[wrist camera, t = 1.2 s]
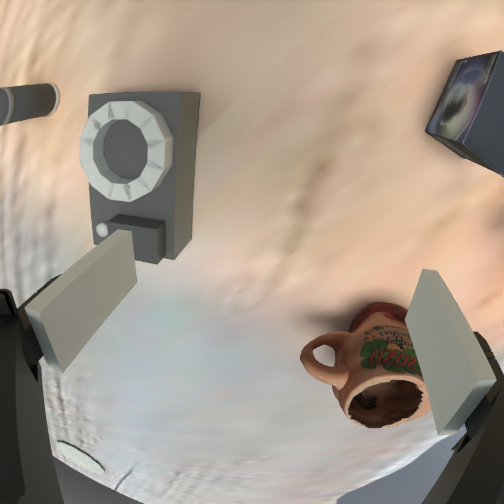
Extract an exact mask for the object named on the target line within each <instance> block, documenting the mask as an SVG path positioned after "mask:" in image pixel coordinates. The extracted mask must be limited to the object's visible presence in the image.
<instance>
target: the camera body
mask: <svg viewBox="0 0 504 504" xmlns="http://www.w3.org/2000/svg"><path fill="white" fill-rule="evenodd" d="M199 103H200V93H189V92H125V93H105V94H91V95H89V107H88V121H87V123H86V125H85V128H84V130H83V132H82V134H81V137H80V163H81V166H82V168H83V170H84V172H85V174H86V176H87V178H88V180H89V192H90V207H91V219H92V230H93V239H94V244H95V245H98V244H100V243H101V242H102V241H103V240H105V239H106V238H107V237H109V236H110V235H111V234H112V233H114V232H115V231H116V230H118V229H120V230H128V231H132V240H133V250H134V259H135V260H137V261H142V262H147V263H152V264H158V263H159V262H160V261H161V260H162V259H163V258H166V259H171V260H175V259H176V257H177V256H178V255H179V254H180V252H181V251H182V250H183V249H184V247H185V246H186V245H187V244H188V243H189V241H190V240H191V239H192V214H193V191H194V172H195V156H196V141H197V127H198V115H199Z"/></svg>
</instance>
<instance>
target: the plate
mask: <svg viewBox="0 0 504 504" xmlns="http://www.w3.org/2000/svg"><path fill="white" fill-rule="evenodd" d="M56 447H57V448H58V449H59V450H60V451H61V453H62V454H63V455H65V456H66V457H67V458H68V459H70V460H71V461H72V462H74V463H75V464H77V465H79V466H80V467H82V468H84V469H86V470H88V471H91V472H93V473H96V474H103V473H104V470H103V469H102V468H101V466H100V465H99V464H98V463H97V462H96V461H95V460H94V459H93V458H91V457H90V456H89V455H87V454H86V453H84V452H83V451H81V450H79V449H77V448H76V447H74V446H71V445H69V444H65V443H63V442H56ZM74 452H77V453H74ZM75 454H76V455H75ZM80 454H81V455H80ZM83 456H84V457H83ZM82 459H83V460H82ZM86 460H87V461H86Z"/></svg>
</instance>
